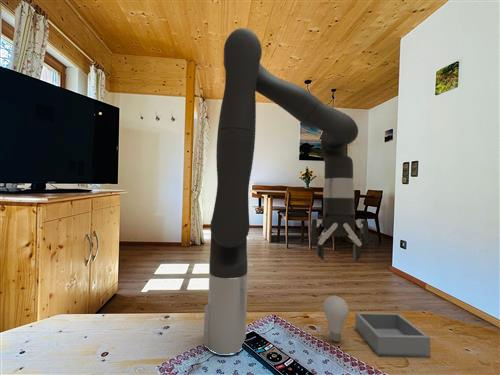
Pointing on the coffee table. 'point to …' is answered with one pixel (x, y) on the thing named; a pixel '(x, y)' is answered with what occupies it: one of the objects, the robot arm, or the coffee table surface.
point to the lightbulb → (335, 315)
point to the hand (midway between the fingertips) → (338, 259)
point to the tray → (392, 335)
